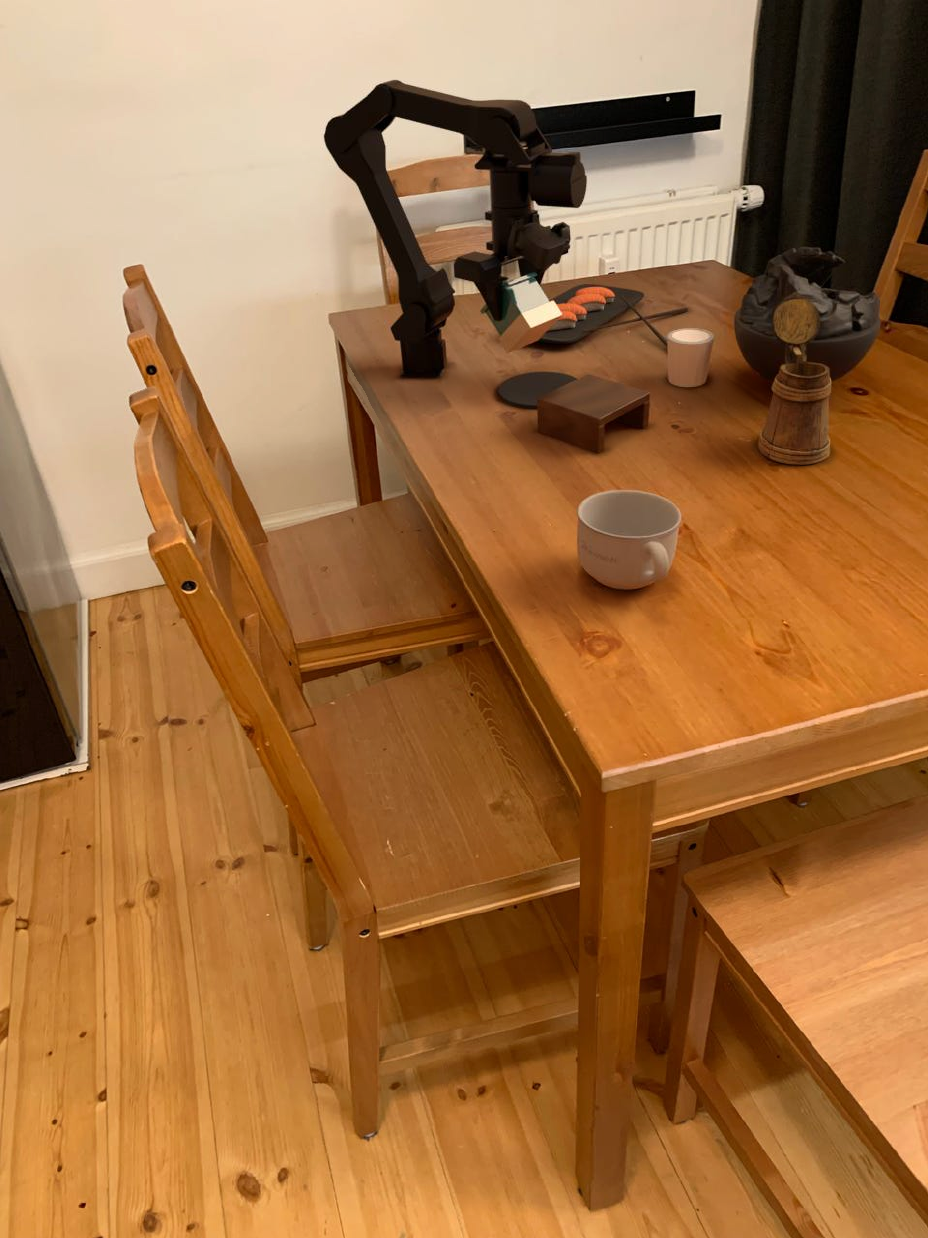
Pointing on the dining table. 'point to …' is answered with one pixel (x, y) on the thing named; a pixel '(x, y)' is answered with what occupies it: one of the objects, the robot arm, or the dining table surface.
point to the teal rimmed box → (523, 313)
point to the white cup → (689, 356)
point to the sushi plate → (595, 312)
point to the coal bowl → (842, 313)
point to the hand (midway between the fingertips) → (513, 314)
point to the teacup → (627, 537)
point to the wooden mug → (797, 390)
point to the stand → (590, 410)
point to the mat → (531, 387)
